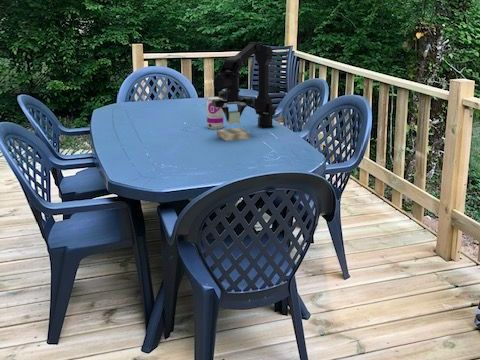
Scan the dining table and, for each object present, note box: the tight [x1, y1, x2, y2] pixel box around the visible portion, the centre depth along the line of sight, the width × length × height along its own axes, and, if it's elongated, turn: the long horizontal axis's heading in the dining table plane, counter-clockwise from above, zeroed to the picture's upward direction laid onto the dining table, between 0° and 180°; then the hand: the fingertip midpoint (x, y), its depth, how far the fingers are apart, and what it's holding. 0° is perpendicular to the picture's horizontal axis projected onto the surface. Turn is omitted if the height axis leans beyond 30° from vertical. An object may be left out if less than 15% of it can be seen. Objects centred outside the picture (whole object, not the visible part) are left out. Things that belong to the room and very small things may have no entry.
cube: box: [225, 110, 241, 125], centre depth 265 cm, size 5×5×5 cm
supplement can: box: [206, 96, 224, 130], centre depth 285 cm, size 8×8×15 cm
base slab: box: [216, 127, 251, 142], centre depth 268 cm, size 12×12×3 cm
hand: (232, 120), depth 266 cm, fingers closed on cube, 5 cm apart
